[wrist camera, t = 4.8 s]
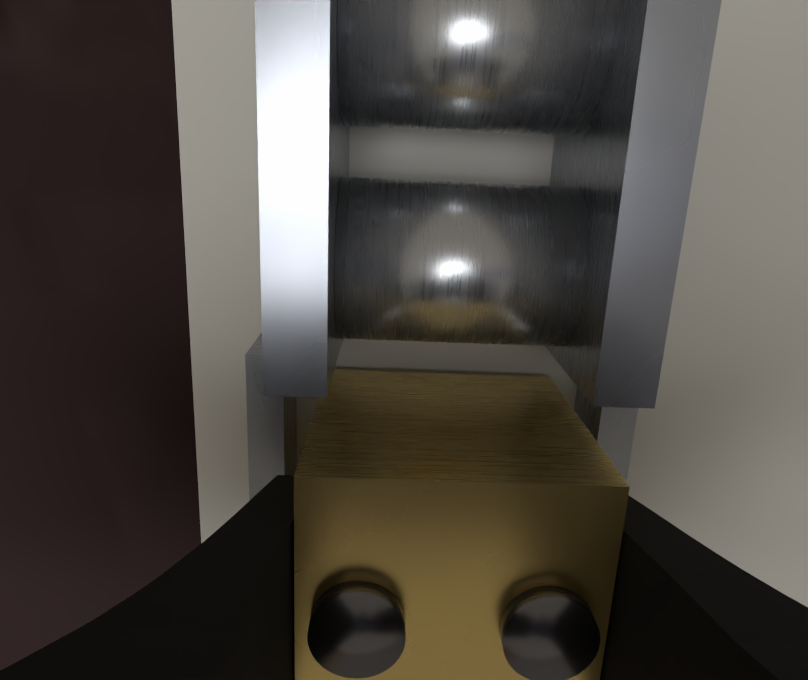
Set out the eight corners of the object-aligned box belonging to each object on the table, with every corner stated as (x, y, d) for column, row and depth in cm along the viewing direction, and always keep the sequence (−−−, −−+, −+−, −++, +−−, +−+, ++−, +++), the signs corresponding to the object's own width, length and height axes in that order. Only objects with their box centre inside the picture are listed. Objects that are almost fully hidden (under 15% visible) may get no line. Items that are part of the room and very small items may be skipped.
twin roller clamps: (668, -36, 10) (812, -135, 6) (549, 811, 15) (595, 1005, 11) (254, -58, 10) (180, -172, 6) (272, 806, 15) (236, 1002, 11)
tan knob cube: (528, 567, 12) (595, 770, 8) (325, 562, 12) (291, 765, 8) (549, 376, 11) (639, 500, 7) (327, 369, 11) (289, 489, 7)
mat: (1047, -28, 10) (1067, -33, 10) (804, 810, 15) (812, 822, 15) (173, -74, 10) (167, -81, 10) (219, 801, 15) (215, 814, 15)
